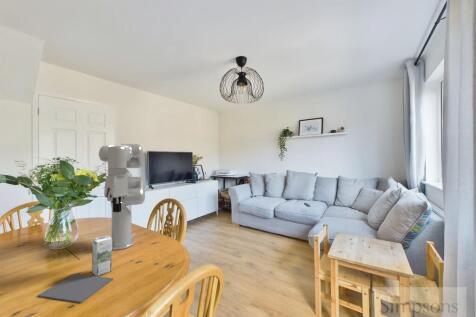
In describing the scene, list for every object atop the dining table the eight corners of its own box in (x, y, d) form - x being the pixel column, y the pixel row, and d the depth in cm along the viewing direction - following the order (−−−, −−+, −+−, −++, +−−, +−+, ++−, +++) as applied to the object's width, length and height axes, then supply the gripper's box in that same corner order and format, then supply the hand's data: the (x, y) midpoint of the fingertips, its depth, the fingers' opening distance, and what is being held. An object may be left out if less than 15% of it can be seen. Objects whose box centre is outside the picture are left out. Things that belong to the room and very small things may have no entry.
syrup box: (106, 267, 93) (107, 234, 93) (112, 271, 89) (112, 237, 90) (91, 272, 89) (92, 238, 89) (96, 277, 85) (96, 241, 85)
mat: (75, 274, 87) (75, 273, 87) (113, 279, 84) (113, 278, 84) (37, 296, 73) (37, 295, 73) (81, 303, 70) (81, 301, 70)
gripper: (121, 171, 106) (121, 208, 105) (97, 173, 91) (96, 215, 91) (135, 171, 104) (134, 208, 104) (112, 173, 90) (111, 216, 89)
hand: (117, 211), depth 97 cm, fingers closed
